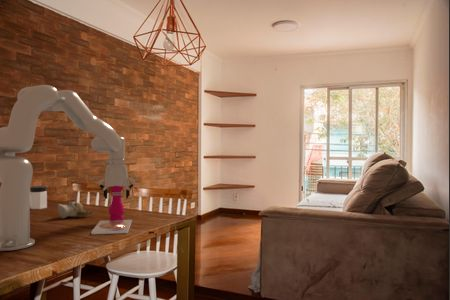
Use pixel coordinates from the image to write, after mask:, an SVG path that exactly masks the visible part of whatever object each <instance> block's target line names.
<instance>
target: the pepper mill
mask: <svg viewBox="0 0 450 300" xmlns="http://www.w3.org/2000/svg"><path fill="white" fill-rule="evenodd" d="M109 189H110V191H111V194H110V195H111V203H110V206H109V207H108V213H109V215H110V216H109V220H124V213H125V206H124V204H123V201H122V195H123V189H124V186H123V187H120V186H113V187H109Z"/></svg>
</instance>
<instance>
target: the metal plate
mask: <svg viewBox="0 0 450 300" xmlns="http://www.w3.org/2000/svg"><path fill="white" fill-rule="evenodd" d="M132 223H133V220H132V219H123V220H110V219H109V220H108V219H107V220H99V221H98V223H96V225H95V226H94V228H93V229H92V230H91V232H90V233H91V236H93V235H117V234H128V233H129V232H130V231H129V230H130V227H131V225H132Z"/></svg>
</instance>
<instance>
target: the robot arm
mask: <svg viewBox="0 0 450 300" xmlns="http://www.w3.org/2000/svg"><path fill="white" fill-rule="evenodd" d="M43 111H44V112H64V114H65V115H66V116H67V117H68V118H69V120H70V121H71V122H72V123H73V124H74V125H75V126H76V127H77V129H80V130H82V131H84V132H87V133H90V134H92V135H95V137H94V138H93V139H91V142H90V146H91V148H92V150H94V151H95V152H97V153H108V158H107V159H106V160H105V164H106V168H105V176H104V177H103V178H101V179H99V180H97V184H98V186H99V187H100V188H101V190H102V191H103V198H104V199H105V200H107V199H108V188H110V187H113V186H120V187H123V188H126V191H125V199H129V197H130V191H131V189H132V188H133V187H134V185H135V183H136V180H135V179H134V178H131V177H129V176H128V168H127V167H128V166H127V164H126V139H125V137H123V136H119V134H118V133H117V132H116V130H115V129H114V128H113V127H112V126H111V125H109V124H108V123H107V122H106V121H104V120H102V119H100V118H99V117H97V116H96V115H94V113H93V112H92V111H91V109H90V108H89V107H88V106H87V105H86V103H85V102H84V101H83V99H81V97H80V96H79V95H78V94H77V92H75V91H74V90H71V89H62V90H60V89H59V90H58V89H57V88H56V87H55V86H53V85H49V84H40V85H33V86H26V87H23V88H21V89H20V90H19V91H18V93H17V101H16V102H15V103H14V105H13V107H12V109H11V111H10V112H11V113H10V117H9V121H8V125H7V126H2V127H0V183H1V184H0V252H3V251H4V252H5V251H6V252H7V251H17V250H22V249H26V248H30V247H32V246H33V245H35V244H36V242H35V241H36V239H34V238H31V209H30V187H31V184H32V179H33V174H34V173H33V172H34V168H33V165H32V163H31V162H30V161H29V160H28V159H27V158H24V157H22V156H17V155H16V154H21V153H22V154H23V153H27V152H29V151H30V150H32V147H33V145H34V140H35V135H36V130H37V123H38V119H39V117H40V115H41V113H42V112H43ZM107 164H108V165H107ZM103 182H104V184H105V185H103ZM129 182H131V184H129Z"/></svg>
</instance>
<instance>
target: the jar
mask: <svg viewBox="0 0 450 300" xmlns="http://www.w3.org/2000/svg"><path fill="white" fill-rule="evenodd" d="M47 208H48V191H47V186H46V185H33V186H30V210H43V209H47Z"/></svg>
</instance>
